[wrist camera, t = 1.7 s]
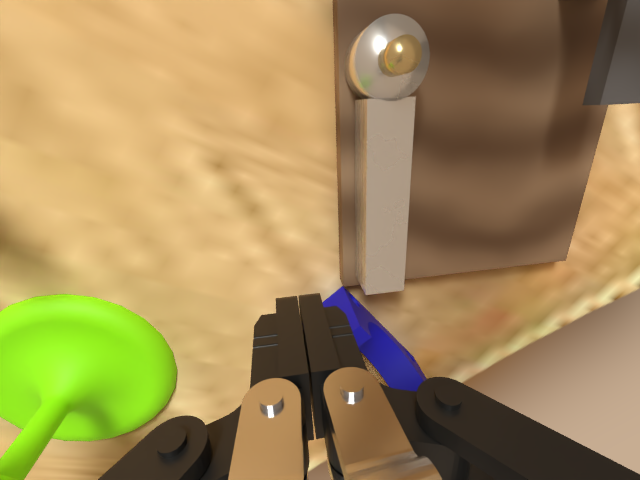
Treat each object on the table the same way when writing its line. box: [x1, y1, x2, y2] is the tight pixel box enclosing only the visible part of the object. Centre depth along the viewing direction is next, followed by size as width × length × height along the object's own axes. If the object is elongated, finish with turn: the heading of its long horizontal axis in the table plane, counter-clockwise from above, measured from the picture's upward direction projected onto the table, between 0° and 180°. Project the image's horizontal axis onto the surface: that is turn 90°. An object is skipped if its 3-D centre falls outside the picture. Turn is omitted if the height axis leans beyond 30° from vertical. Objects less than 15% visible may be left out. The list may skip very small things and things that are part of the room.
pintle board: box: [333, 0, 640, 287], centre depth 23 cm, size 23×21×6 cm
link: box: [344, 14, 430, 295], centre depth 21 cm, size 18×4×5 cm, turn 3°
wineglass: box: [0, 294, 177, 480], centre depth 20 cm, size 16×16×18 cm
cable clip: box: [322, 286, 427, 391], centre depth 29 cm, size 12×4×6 cm, turn 40°
